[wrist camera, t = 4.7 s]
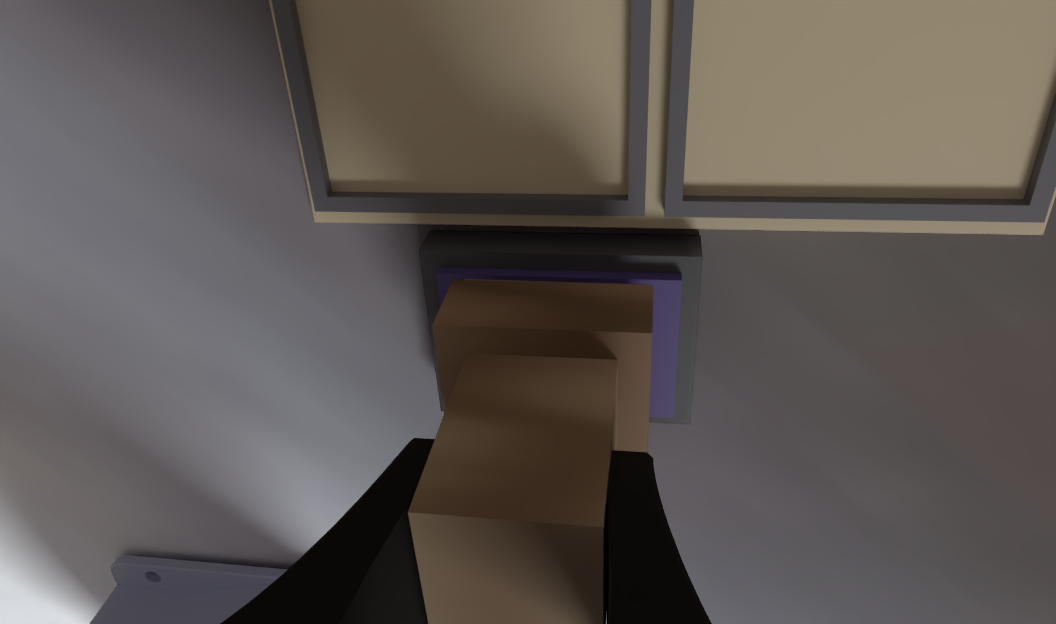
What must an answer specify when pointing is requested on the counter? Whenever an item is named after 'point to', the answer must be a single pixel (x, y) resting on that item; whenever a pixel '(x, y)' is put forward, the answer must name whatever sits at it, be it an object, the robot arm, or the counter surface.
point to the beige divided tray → (676, 113)
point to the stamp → (529, 447)
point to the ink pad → (592, 261)
